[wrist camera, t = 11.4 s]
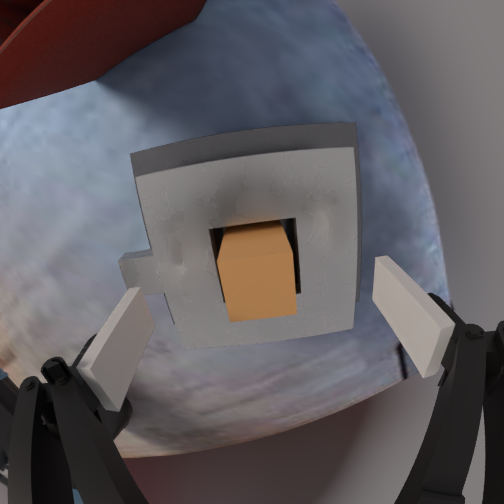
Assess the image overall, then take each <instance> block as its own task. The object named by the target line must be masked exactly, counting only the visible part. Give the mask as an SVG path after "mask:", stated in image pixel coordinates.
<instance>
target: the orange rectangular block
mask: <svg viewBox="0 0 504 504" xmlns="http://www.w3.org/2000/svg"><path fill="white" fill-rule="evenodd" d="M217 264H218V269H219V274H220V279H221V283H222V288H223V293H224V297H225V302H226V307H227V311H228V316H229V320H230V322H237V321H246V320H255V319H263V318H271V317H279V316H287V315H294V314H297V305H296V290H295V276H294V263H293V252H292V249H291V247H290V244H289V241H288V239H287V236H286V234H285V231H284V229H283V226H282V224H281V222H280V219H279V220H271V221H263V222H255V223H248V224H240V225H233V226H226V229H225V233H224V236H223V240H222V244H221V248H220V252H219V256H218V260H217Z"/></svg>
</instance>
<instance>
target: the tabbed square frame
mask: <svg viewBox="0 0 504 504" xmlns="http://www.w3.org/2000/svg"><path fill="white" fill-rule="evenodd" d="M130 157H131V163H132V168H133V174H134V179H135V184H136V189H137V194H138V198H139V203H140V207H141V212H142V216H143V220H144V224H145V228H146V232H147V236H148V240H149V244H150V248H151V249H148V250H142V251H135V252H128V253H125V254H124V255H123V256H122V257H121V258H120V259H119V260H118V263H119V266H120V269H121V272H122V275H123V278H124V281H125V284H126V287H127V290H128V289H129V288H135V287H141V289H142V292H143V295H151V294H162V293H164V296H165V299H166V302H167V305H168V308H169V311H170V314H171V317H172V320H173V323H174V324H175V326H176V329H177V331H178V334H179V337H180V340H181V342H182V345H183V348H184V349H197V348H213V347H226V346H238V345H248V344H257V343H266V342H274V341H282V340H289V339H296V338H303V337H309V336H316V335H322V334H327V333H333V332H338V331H344V330H349V329H353V322H354V310H355V302H358V301H359V294H360V277H361V249H362V209H361V181H360V164H359V151H358V140H357V131H356V123H319V124H302V125H288V126H277V127H268V128H259V129H251V130H243V131H236V132H229V133H223V134H217V135H211V136H206V137H200V138H195V139H190V140H185V141H180V142H176V143H171V144H167V145H163V146H158V147H154V148H150V149H146V150H143V151H139V152H135V153H131V154H130ZM279 219H280V222H281V224H282V226H283V229H284V231H285V234H286V236H287V239H288V241H289V244H290V247H291V249H292V252H293V263H294V276H295V290H296V305H297V314H294V315H287V316H279V317H271V318H263V319H255V320H246V321H237V322H230V320H229V316H228V311H227V307H226V302H225V297H224V293H223V288H222V283H221V279H220V274H219V269H218V264H217V260H218V256H219V252H220V248H221V244H222V240H223V236H224V233H225V229H226V226H233V225H240V224H248V223H255V222H263V221H271V220H279Z"/></svg>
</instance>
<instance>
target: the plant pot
mask: <svg viewBox="0 0 504 504" xmlns="http://www.w3.org/2000/svg"><path fill="white" fill-rule="evenodd" d="M206 1H207V0H0V109H3V108H7V107H10V106H13V105H17V104H20V103H24V102H27V101H30V100H34V99H37V98H41V97H44V96H47V95H51V94H54V93H58V92H61V91H64V90H67V89H70V88H73V87H76V86H79V85H82V84H85V83H88V82H91V81H94V80H96V79H98V78H100V77H101V76H102V75H104V74H105V73H106V72H108V71H109V70H110V69H112V68H113V67H115V66H116V65H118V64H119V63H120V62H122V61H123V60H125V59H126V58H128V57H129V56H131V55H133V54H134V53H136V52H137V51H139V50H140V49H142V48H144V47H145V46H147V45H149V44H150V43H152V42H154V41H156V40H157V39H159V38H161V37H163V36H165V35H166V34H168V33H170V32H172V31H174V30H176V29H178V28H180V27H182V26H184V25H186V24H188V23H191V22H192V21H194V20H195V19H196V18H197V16H198V15H199V14H200V12H201V11H202V9H203V7H204V5H205V3H206Z"/></svg>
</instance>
